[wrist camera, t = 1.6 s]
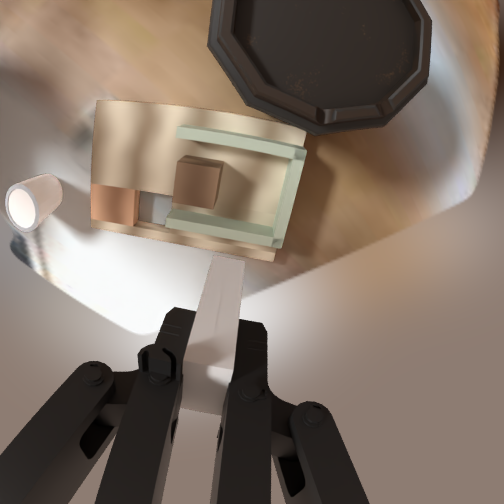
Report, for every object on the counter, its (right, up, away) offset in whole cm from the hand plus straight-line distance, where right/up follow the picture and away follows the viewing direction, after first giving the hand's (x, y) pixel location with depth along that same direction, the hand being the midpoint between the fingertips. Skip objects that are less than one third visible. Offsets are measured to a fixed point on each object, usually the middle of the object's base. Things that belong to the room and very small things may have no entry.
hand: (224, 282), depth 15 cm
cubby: (-1, +9, +20) cm, 22 cm away
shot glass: (-28, +10, +23) cm, 38 cm away
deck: (-6, +11, +22) cm, 25 cm away
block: (-4, +10, +20) cm, 23 cm away
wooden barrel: (+7, +24, +15) cm, 29 cm away
